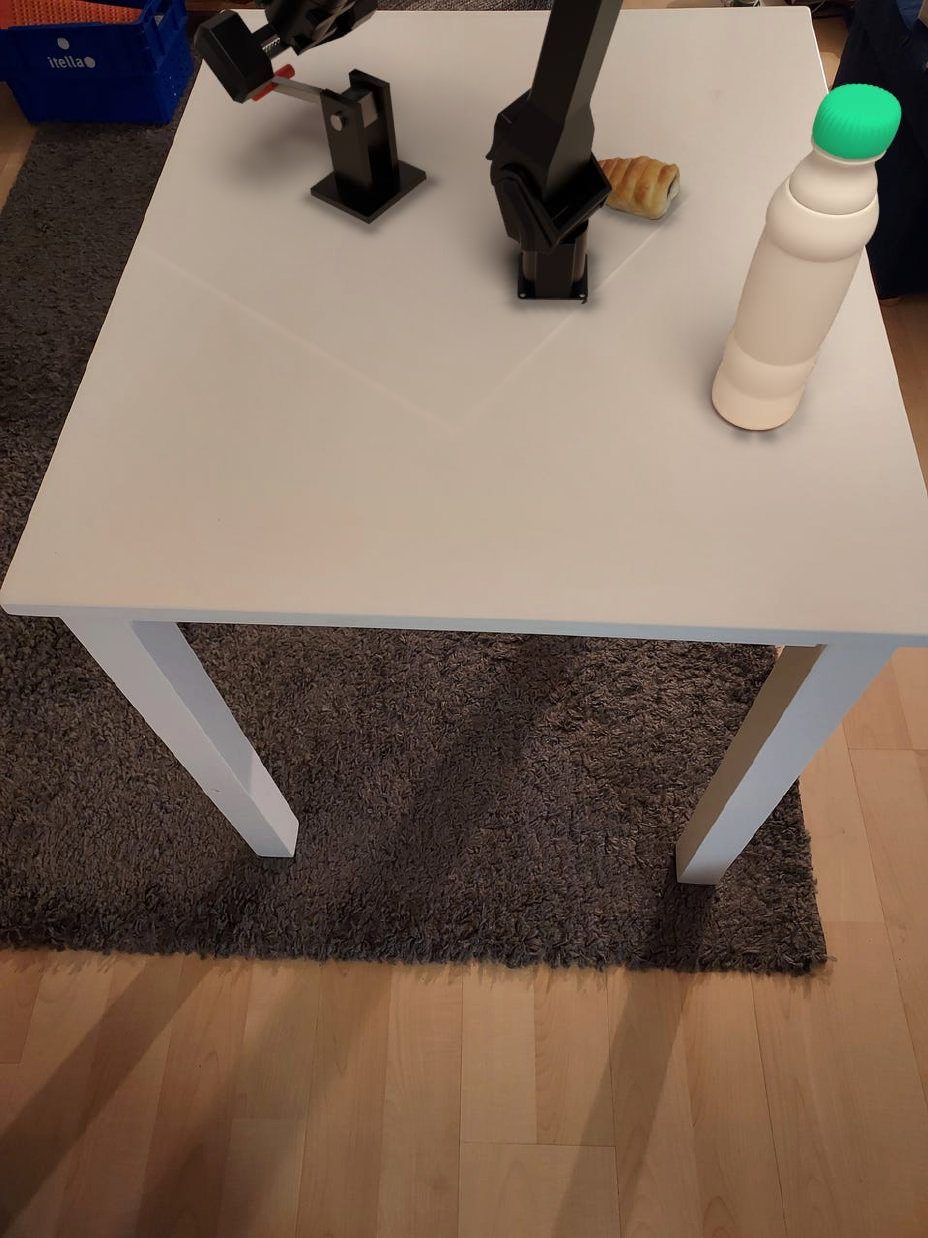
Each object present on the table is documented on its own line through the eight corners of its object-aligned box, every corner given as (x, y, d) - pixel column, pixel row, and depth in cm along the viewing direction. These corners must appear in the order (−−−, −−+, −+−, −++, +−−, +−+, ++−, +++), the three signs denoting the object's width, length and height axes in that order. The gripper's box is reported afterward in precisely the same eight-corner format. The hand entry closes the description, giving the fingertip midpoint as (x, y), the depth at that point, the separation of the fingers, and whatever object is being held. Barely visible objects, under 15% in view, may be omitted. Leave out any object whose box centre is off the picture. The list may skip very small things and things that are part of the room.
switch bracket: (312, 198, 87) (290, 96, 78) (369, 155, 90) (355, 52, 81) (369, 228, 84) (353, 125, 75) (426, 182, 87) (418, 78, 78)
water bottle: (799, 380, 72) (929, 74, 50) (790, 441, 69) (925, 143, 47) (716, 365, 73) (808, 60, 51) (703, 425, 70) (796, 126, 48)
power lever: (252, 106, 85) (244, 80, 83) (290, 81, 87) (283, 55, 85) (351, 137, 79) (345, 111, 77) (389, 109, 81) (384, 82, 79)
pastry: (572, 205, 84) (575, 169, 81) (595, 167, 87) (599, 131, 84) (661, 227, 82) (668, 191, 79) (682, 188, 85) (689, 151, 82)
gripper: (334, -172, 71) (273, -53, 84) (169, -84, 64) (131, 30, 78) (414, -38, 75) (344, 55, 89) (267, 57, 69) (215, 143, 82)
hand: (261, 68), depth 84 cm, fingers open, 9 cm apart
